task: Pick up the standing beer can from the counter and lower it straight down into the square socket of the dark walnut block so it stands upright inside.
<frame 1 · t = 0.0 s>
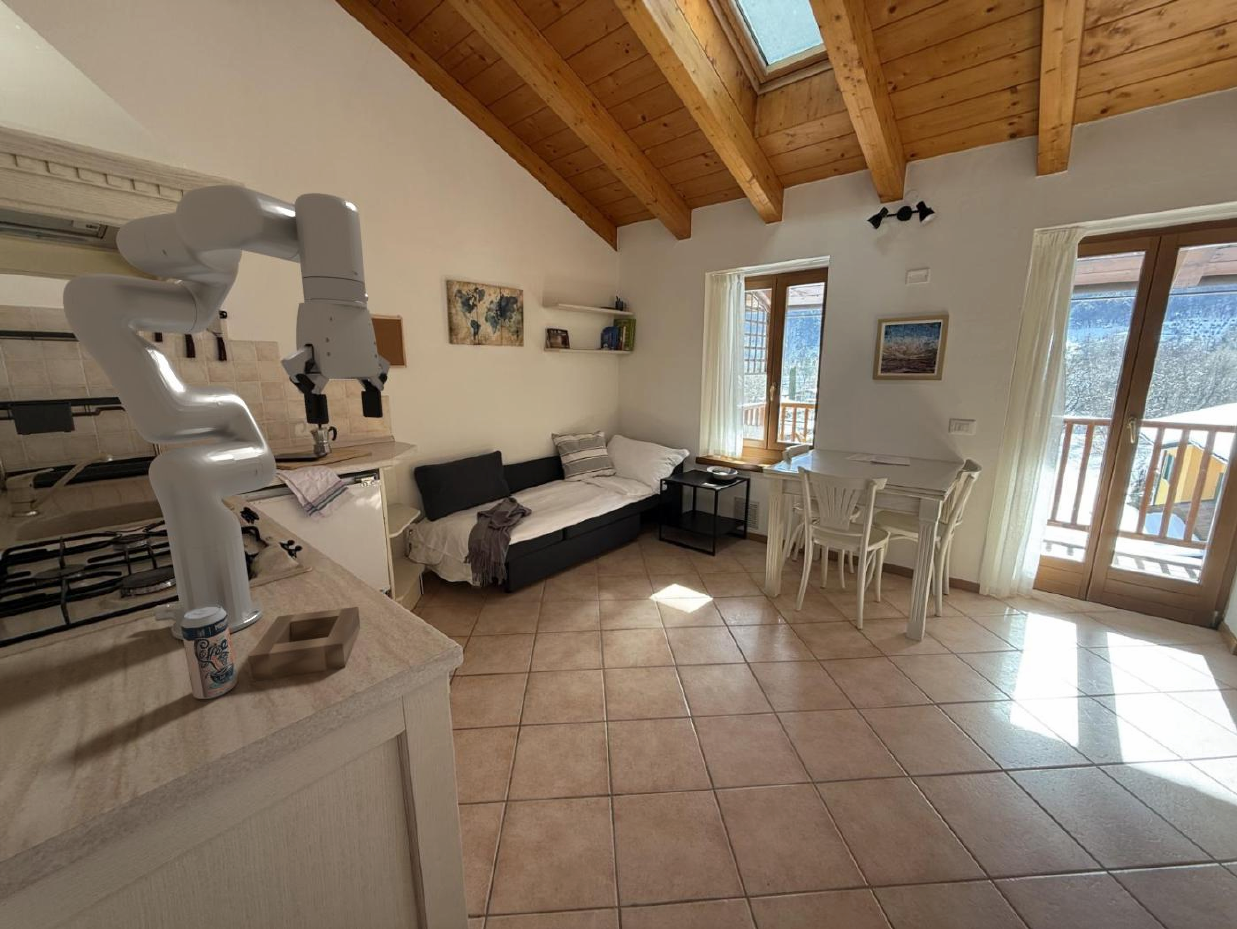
hand: (347, 420, 71), 37 cm above the counter, tool pointing down, fingers open, 9 cm apart
beer can: (216, 692, 69), on the counter
walnut socket block: (311, 652, 78), on the counter
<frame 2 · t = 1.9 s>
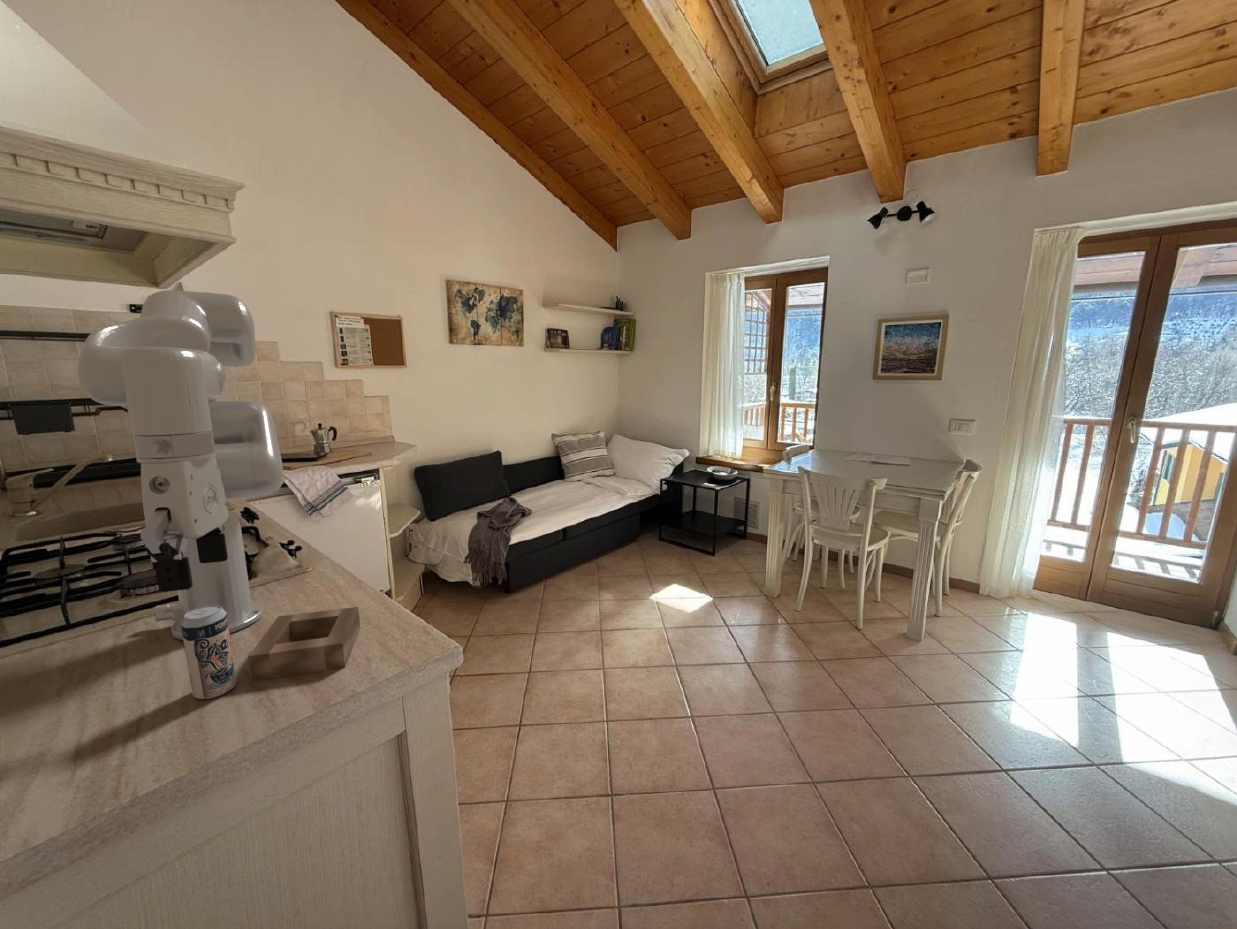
hand: (196, 574, 65), 18 cm above the counter, tool pointing down, fingers open, 9 cm apart
nothing on the counter moved.
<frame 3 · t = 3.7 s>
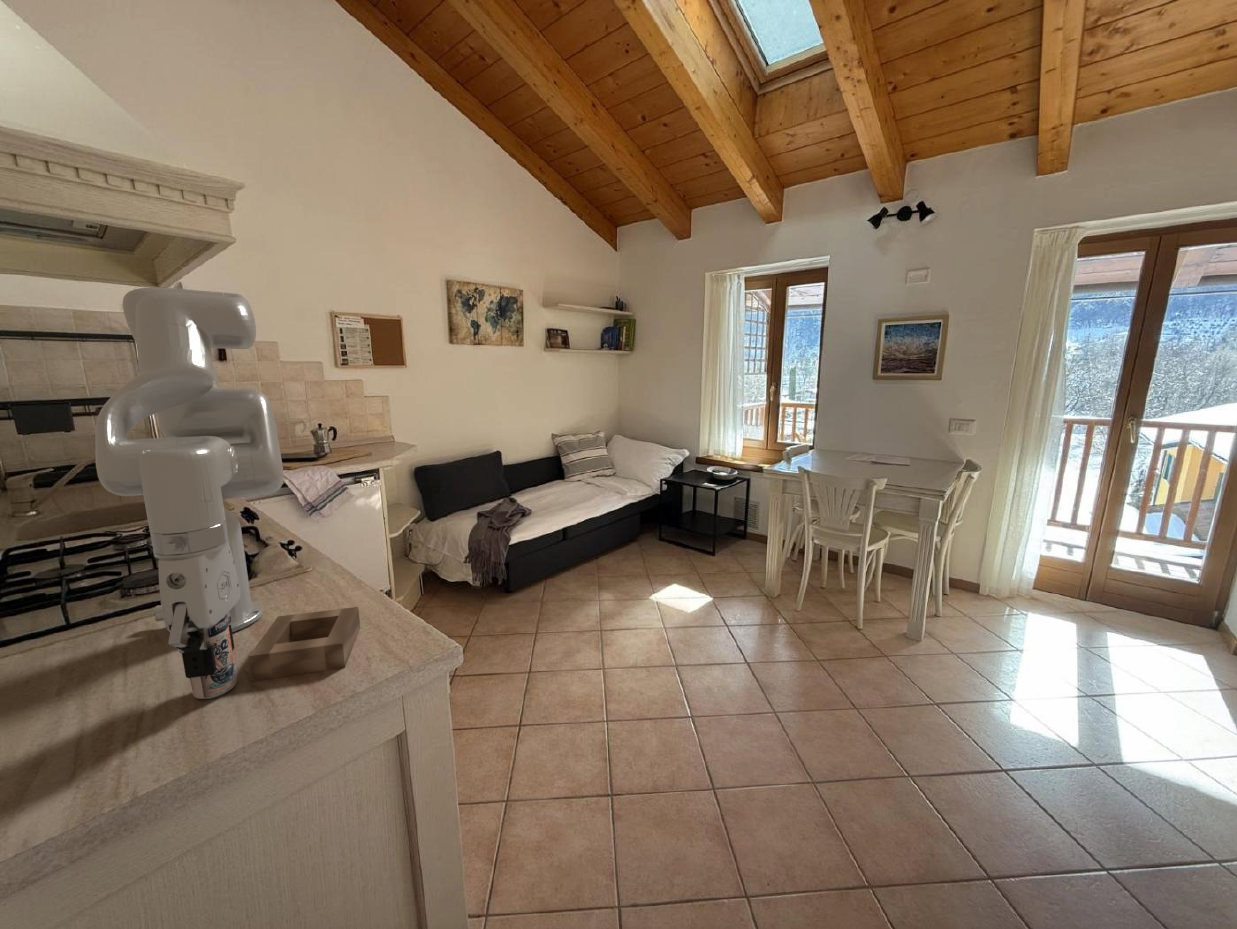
hand: (211, 662, 68), 4 cm above the counter, tool pointing down, fingers closed on beer can, 4 cm apart
beer can: (216, 692, 69), on the counter, touching gripper
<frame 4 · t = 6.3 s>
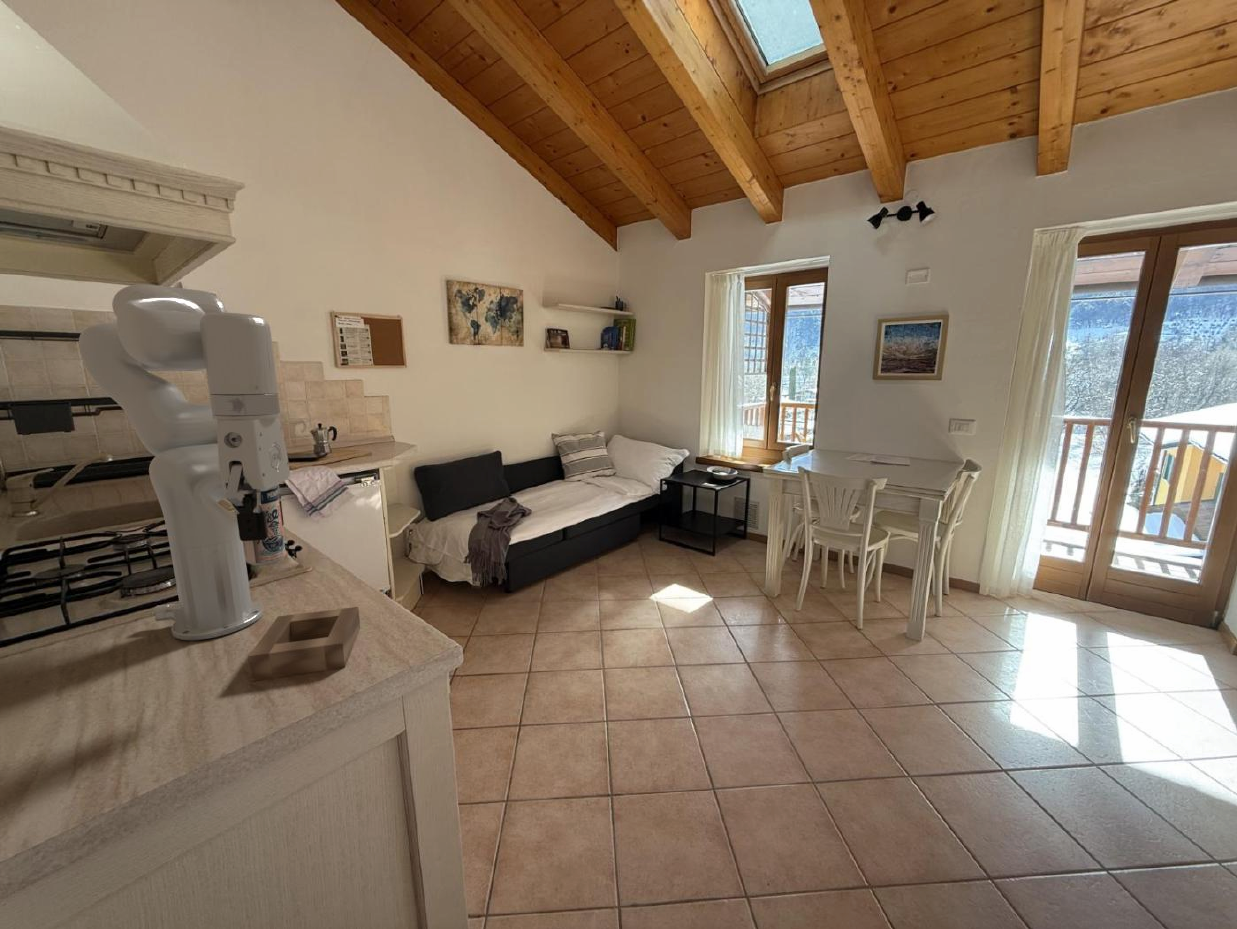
hand: (262, 532, 71), 21 cm above the counter, tool pointing down, fingers closed on beer can, 4 cm apart
beer can: (266, 562, 72), point 17 cm above the counter, touching gripper
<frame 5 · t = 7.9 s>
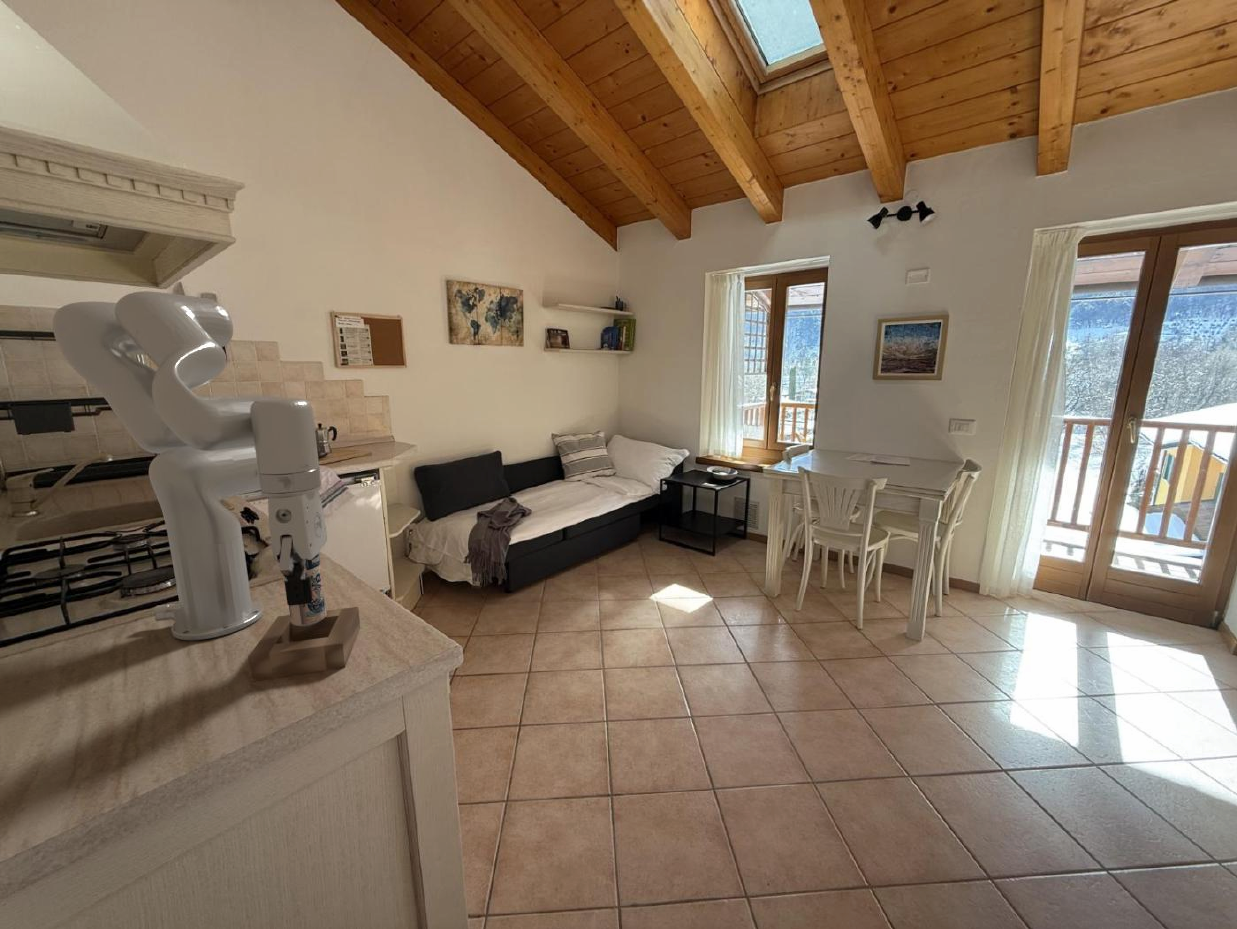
hand: (305, 594, 76), 10 cm above the counter, tool pointing down, fingers closed on beer can, 4 cm apart
beer can: (309, 622, 77), point 5 cm above the counter, touching gripper
when the fingers open (6 cm above the counter, at t = 9.1 s): beer can drops 1 cm, resting in walnut socket block.
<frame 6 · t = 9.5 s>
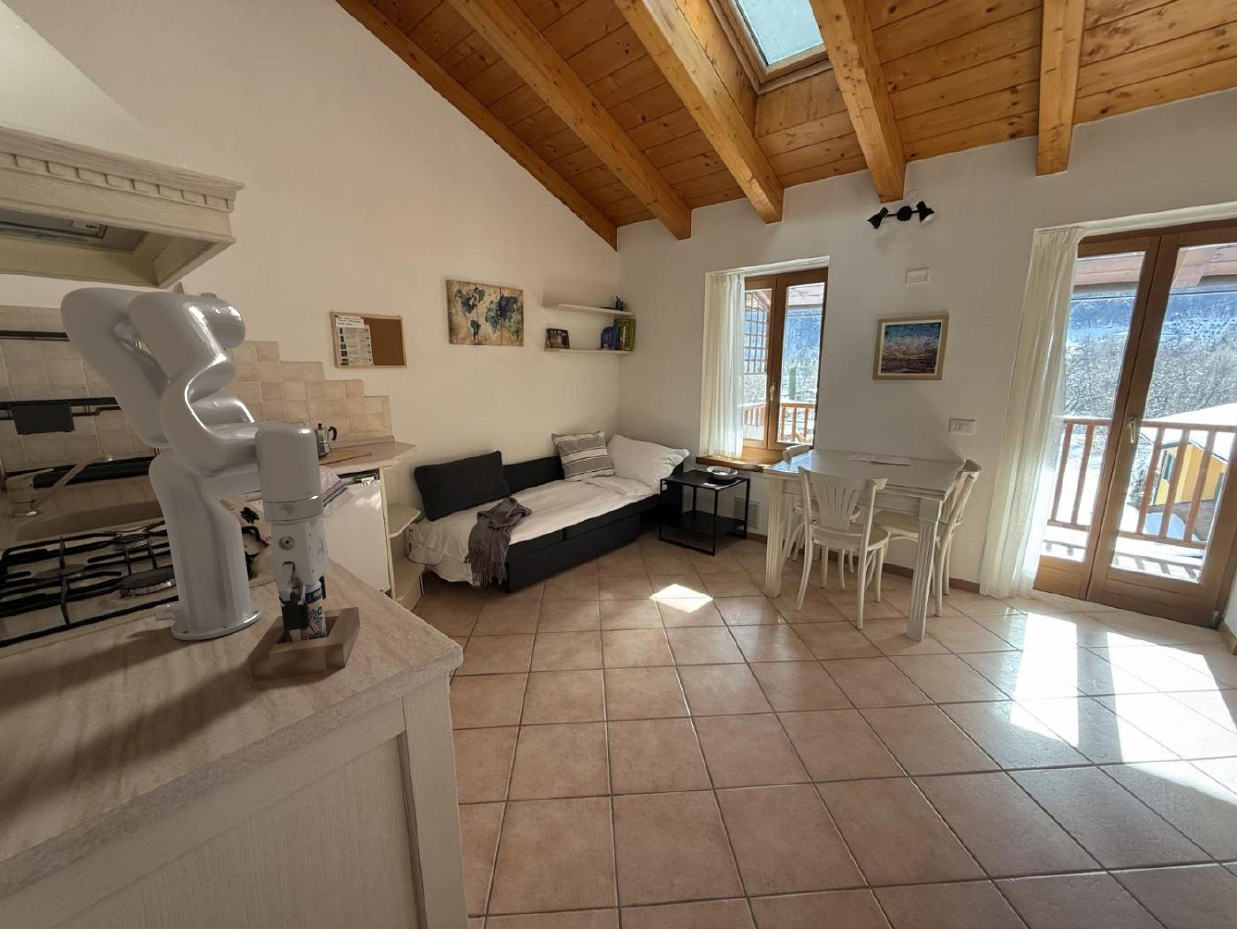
hand: (306, 613, 77), 7 cm above the counter, tool pointing down, fingers open, 9 cm apart
beer can: (311, 653, 78), resting in walnut socket block
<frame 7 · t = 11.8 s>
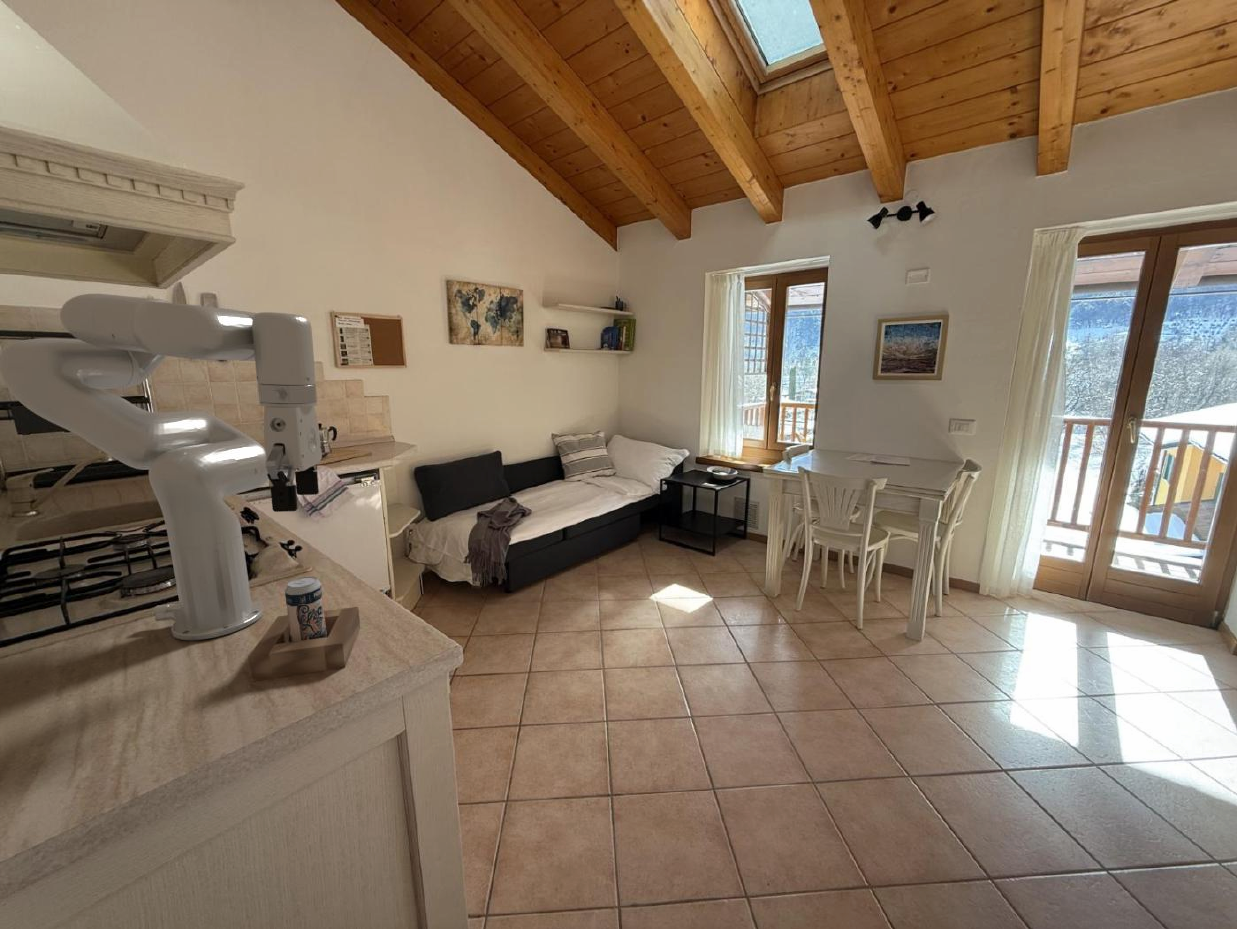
hand: (297, 502, 79), 23 cm above the counter, tool pointing down, fingers open, 9 cm apart
nothing on the counter moved.
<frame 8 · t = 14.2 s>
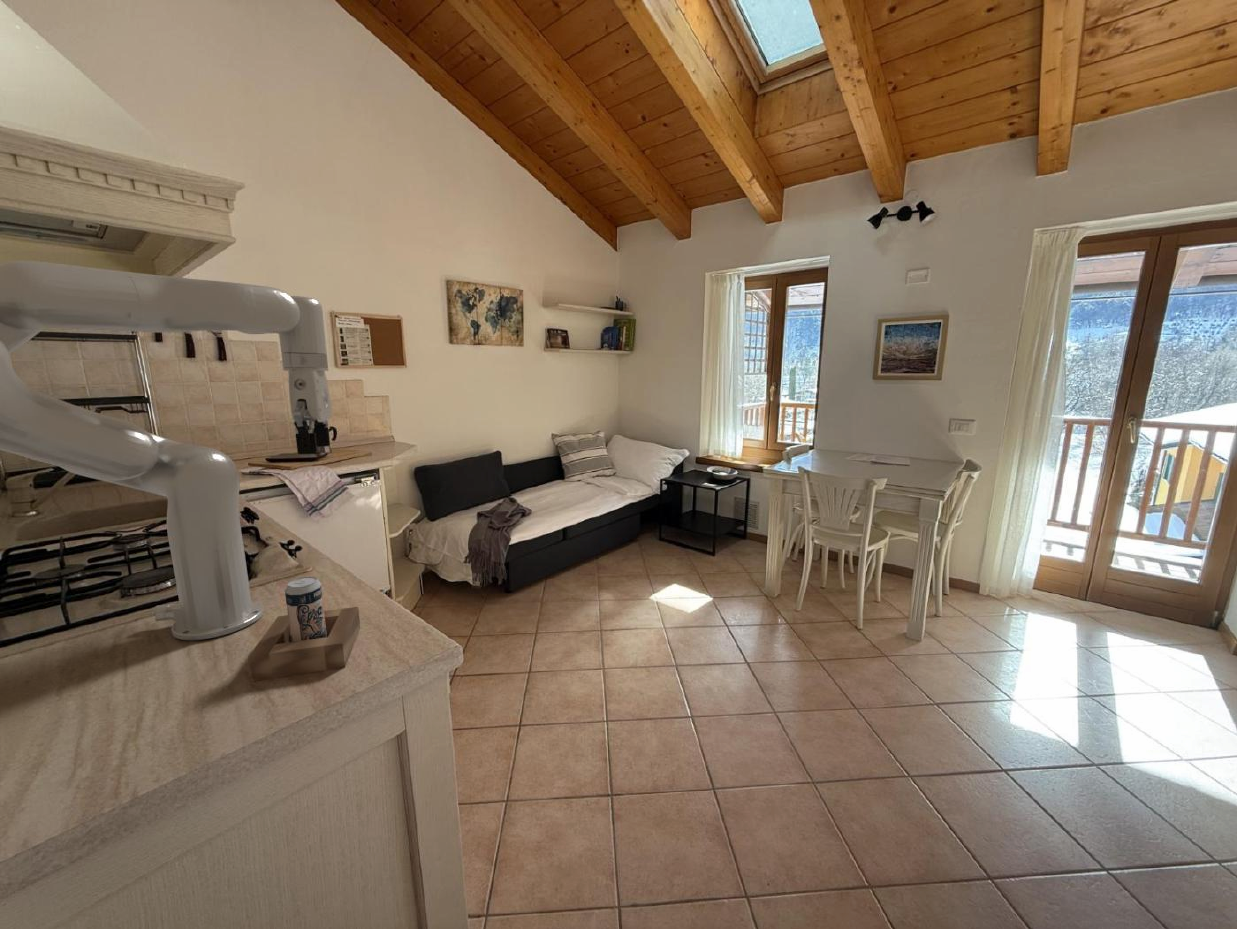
hand: (314, 449, 99), 28 cm above the counter, tool pointing down, fingers open, 9 cm apart
nothing on the counter moved.
at the end: beer can 0.1 cm off-centre on the walnut socket block, point 0.0 cm above the walnut socket block's base; beer can tilted 0°; the gripper is holding nothing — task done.
